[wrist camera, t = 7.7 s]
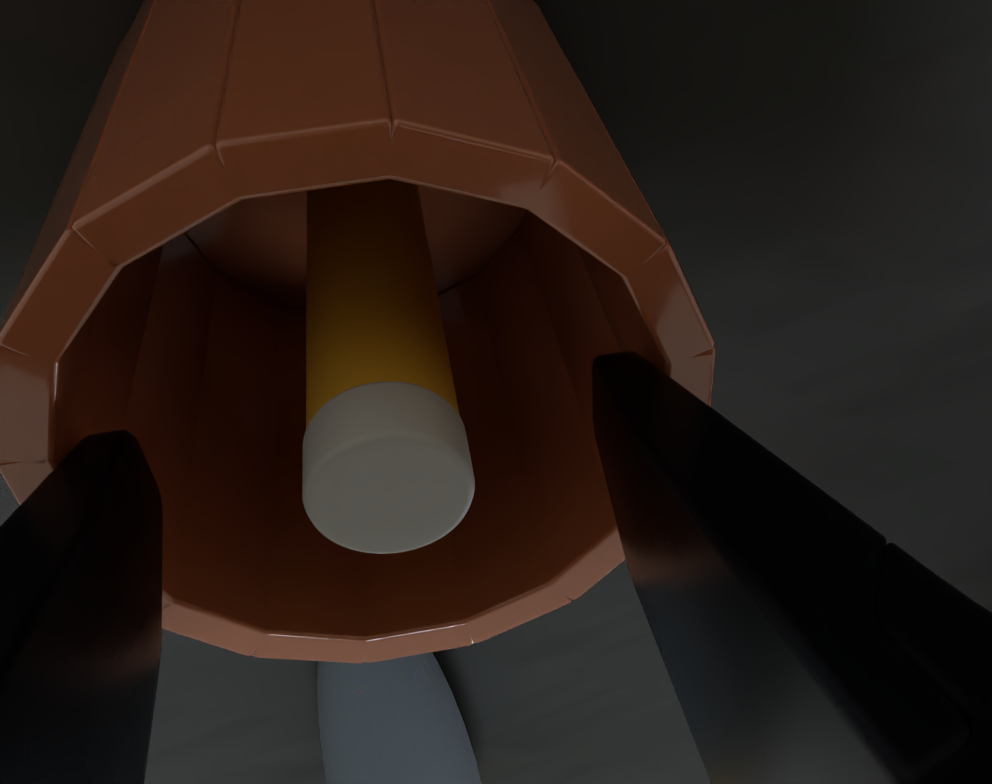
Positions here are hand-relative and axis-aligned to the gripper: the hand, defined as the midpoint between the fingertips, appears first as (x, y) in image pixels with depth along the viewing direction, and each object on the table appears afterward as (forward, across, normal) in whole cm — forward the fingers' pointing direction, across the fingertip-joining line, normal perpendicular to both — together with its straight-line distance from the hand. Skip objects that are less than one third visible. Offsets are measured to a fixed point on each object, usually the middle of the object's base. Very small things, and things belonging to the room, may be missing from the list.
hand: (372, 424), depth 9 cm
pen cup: (+6, 0, 0) cm, 6 cm away
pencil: (+6, 0, 0) cm, 6 cm away
